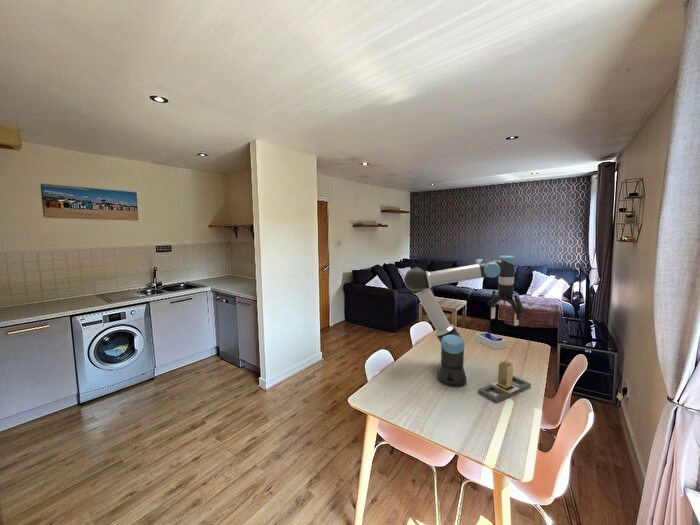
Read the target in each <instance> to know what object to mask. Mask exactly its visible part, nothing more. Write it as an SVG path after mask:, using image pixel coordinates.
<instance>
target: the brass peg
mask: <svg viewBox="0 0 700 525" xmlns="http://www.w3.org/2000/svg"><path fill="white" fill-rule="evenodd" d="M513 373H514V364H512V362H509V361H507V360H502V361H500V362H499V363H498V372H497V374H498V375H497V376H498V377H497V381H498V387H500V388H502V389H504V390H506V391H508V390H510V389H512V384H513V381H512V378H513V376H514V374H513Z"/></svg>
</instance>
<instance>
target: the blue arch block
mask: <svg viewBox="0 0 700 525" xmlns="http://www.w3.org/2000/svg"><path fill="white" fill-rule="evenodd" d="M491 334H492V333H491V332H487V333H486V337H485V338H487V339H490V340H492V341H493V339H492V338H491ZM502 339H503V338H502V337H499V338H497V341H502ZM494 342H495V341H494Z"/></svg>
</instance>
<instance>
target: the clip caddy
mask: <svg viewBox="0 0 700 525" xmlns="http://www.w3.org/2000/svg"><path fill="white" fill-rule="evenodd" d="M486 333H488V331H482V332H478V333H477V332H476V333H475V334H474V341H475V342H478V343H479V344H482V345H484V346H486V347H488V348H490V349H493V350H500V349H504V348H506V345H507V343H506V342H507V340H505V339H504V338H502V341H497V338H500V337H499V336H496V335H494V334H492V333H490V334H491V338H492V339H493V341H492V340H490V339H487V338H485V337H486ZM494 341H495V342H494Z"/></svg>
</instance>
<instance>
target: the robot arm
mask: <svg viewBox="0 0 700 525" xmlns="http://www.w3.org/2000/svg"><path fill="white" fill-rule="evenodd" d="M474 263H475V264H469V265H468V264H467V265H462V266H458V267H457V266H456V267H452V268H447V269H440V270H435V271H428V270H424V269H422V268H420V267H412V268H410V269H409V270H408V271H407V272H406V274H404V278H403V283H404V285H405V287H406V288H407V289H408V290H409V291H411V292H412V294H413V295H416V296H417V298H418V300H419V301H420V304H421V306H422V307H423V309H424V311H425V313H426V314H427V316H428V318H429V319H430V321H431V323H432V325H433V326H434V329H435V330H436V332H435V335H436V337H437V339H438V341H439V342H440V366H439V369H438V371H437V376H436V378H437V381H438V382H440V384H443V385H445V386H448V387H454V388H456V387H457V388H459V387H463V386H465V385H466V384H467V379H468V378H467V375H466V372H465V369H464V364H465V363H464V362H465V361H464V359H465V347H466V346H465V342H464V339H463V338H462V335H461V334H460V332H458V330H457V329H456V327H455V325H453V324H451V323H450V322H449V320H448V318H447V316H446V314H445V313H444V311H443V309H442V307H441V306H440V304H439V302H438V301H437V298H436V297H435V295H434V293H433V291H432V290H431V288H432V287H433V286H440V285H447V284H451V283H458V282H459V283H460V282H464V281H470V280H471V281H472V280H476V279H477V280H478V279H481V278H482V279H484V278H497V277H498V284H497V285H498V287H497V290H493V291H492V295H491V296H490V298H489V300H488V301H487V303H486V306H489V312H490V319H491V320H493V319H495V318H496V305H498V303H499V302H500V301H504V302H508V303H509V305H510V306H511V307H512V309H513V311H514V312H515V313H514V318H513V319H514V321H513V322H514V323H513V326H515V327H516V326H519V323H520V322H519V321H520V320H521V316H522V315H521V314H524V313H525V309H524V307H523V305H522V301H521V299H520V294H514V291H515V290H514V289H515V288H514V286H515V285H514V284H515V271H516V270H515V269H516V268H515V267H516V257H515V256H514V255H500V256H499V258H498V259H496V258H495V259H494V258H477V259H475V262H474Z"/></svg>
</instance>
